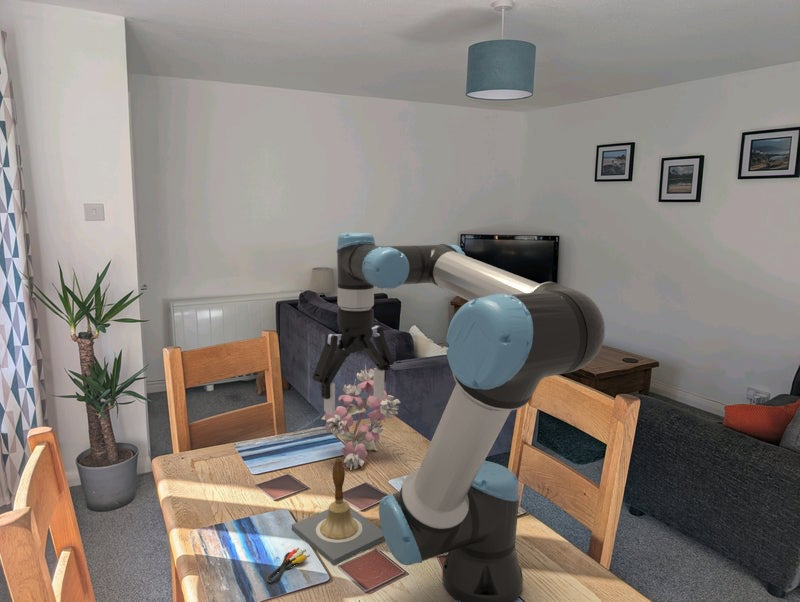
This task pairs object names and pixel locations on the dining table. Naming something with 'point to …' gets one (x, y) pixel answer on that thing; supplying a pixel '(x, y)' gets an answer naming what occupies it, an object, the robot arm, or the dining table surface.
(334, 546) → the board
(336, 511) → the hand bell
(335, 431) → the flower
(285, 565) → the composite cable
